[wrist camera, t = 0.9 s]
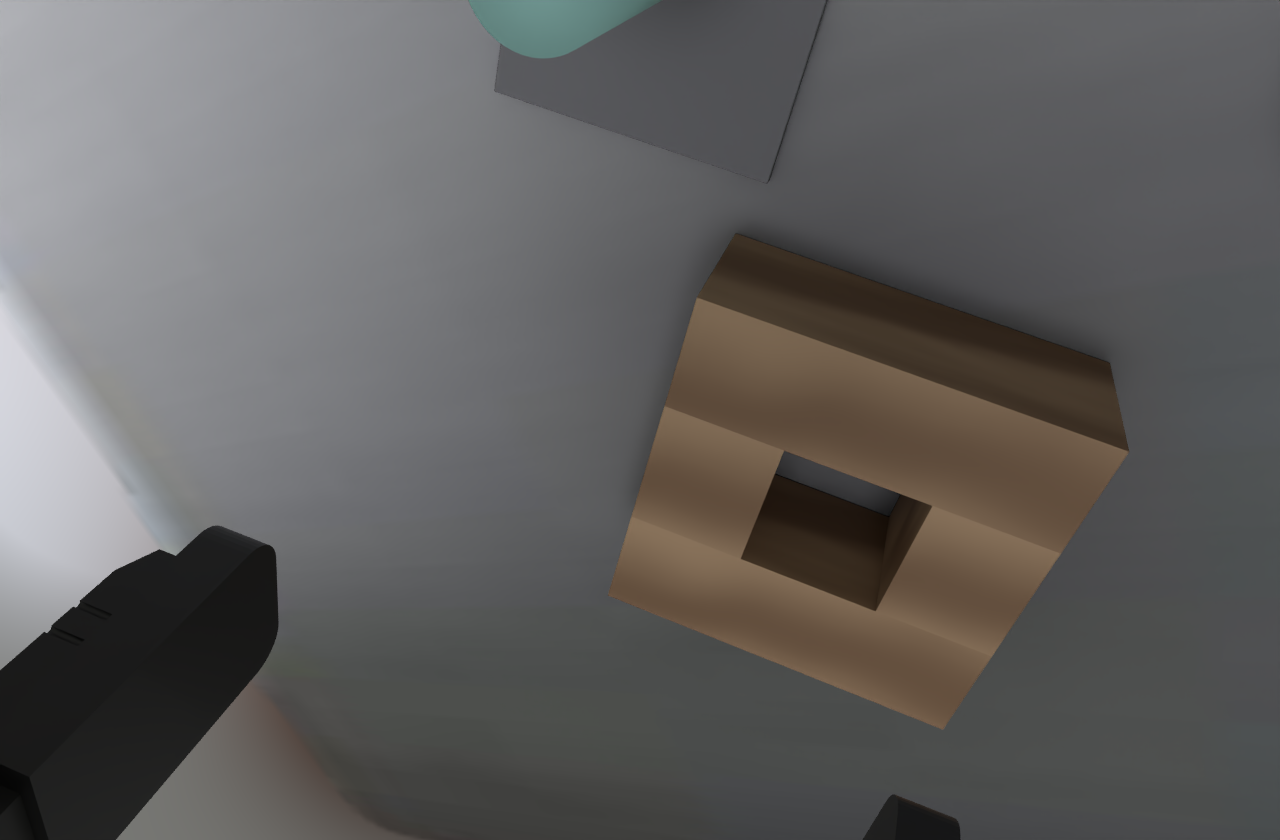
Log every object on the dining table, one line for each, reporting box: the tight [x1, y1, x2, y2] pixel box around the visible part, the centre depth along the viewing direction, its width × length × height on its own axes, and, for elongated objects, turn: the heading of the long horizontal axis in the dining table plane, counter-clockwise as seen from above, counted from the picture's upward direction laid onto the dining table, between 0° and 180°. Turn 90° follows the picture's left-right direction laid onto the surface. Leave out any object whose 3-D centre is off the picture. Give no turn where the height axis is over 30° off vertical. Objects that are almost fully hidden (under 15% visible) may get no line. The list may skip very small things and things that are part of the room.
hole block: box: [608, 234, 1129, 729], centre depth 31 cm, size 12×12×5 cm
